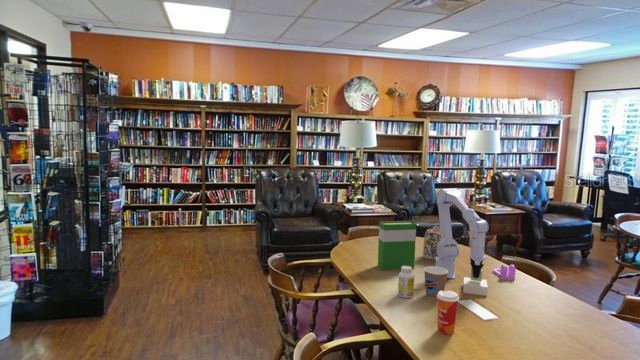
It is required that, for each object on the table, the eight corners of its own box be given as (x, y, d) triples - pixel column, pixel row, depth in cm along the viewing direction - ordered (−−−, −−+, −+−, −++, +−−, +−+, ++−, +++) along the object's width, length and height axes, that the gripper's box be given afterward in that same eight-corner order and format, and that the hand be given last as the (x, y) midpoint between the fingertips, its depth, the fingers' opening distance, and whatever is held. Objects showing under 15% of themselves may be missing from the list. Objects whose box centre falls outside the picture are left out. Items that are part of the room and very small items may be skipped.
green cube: (470, 280, 189) (471, 269, 188) (470, 277, 193) (471, 266, 192) (481, 281, 187) (482, 270, 187) (481, 278, 192) (481, 267, 191)
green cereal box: (408, 264, 227) (410, 220, 225) (414, 268, 220) (416, 223, 217) (377, 265, 224) (379, 221, 221) (382, 270, 217) (384, 224, 214)
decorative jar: (443, 262, 232) (444, 230, 230) (422, 258, 238) (424, 227, 236) (448, 256, 242) (450, 226, 240) (428, 253, 248) (430, 223, 246)
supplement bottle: (414, 294, 185) (415, 266, 184) (412, 299, 179) (413, 270, 177) (399, 292, 187) (400, 264, 186) (396, 297, 181) (398, 268, 180)
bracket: (514, 279, 207) (515, 266, 206) (504, 279, 206) (505, 266, 205) (500, 271, 219) (501, 258, 219) (490, 271, 219) (491, 258, 218)
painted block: (463, 292, 188) (463, 284, 187) (463, 285, 197) (463, 277, 197) (487, 296, 184) (487, 287, 184) (486, 288, 194) (486, 279, 193)
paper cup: (431, 326, 155) (433, 289, 153) (452, 325, 155) (454, 289, 154) (439, 336, 147) (441, 298, 145) (460, 336, 147) (463, 298, 146)
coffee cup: (417, 295, 184) (418, 269, 182) (431, 290, 190) (432, 264, 189) (437, 303, 176) (439, 275, 174) (451, 297, 182) (452, 270, 181)
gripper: (488, 252, 180) (486, 282, 182) (486, 243, 194) (484, 272, 196) (470, 250, 183) (468, 280, 184) (470, 242, 196) (468, 270, 198)
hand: (475, 275), depth 190 cm, fingers closed on green cube, 4 cm apart
